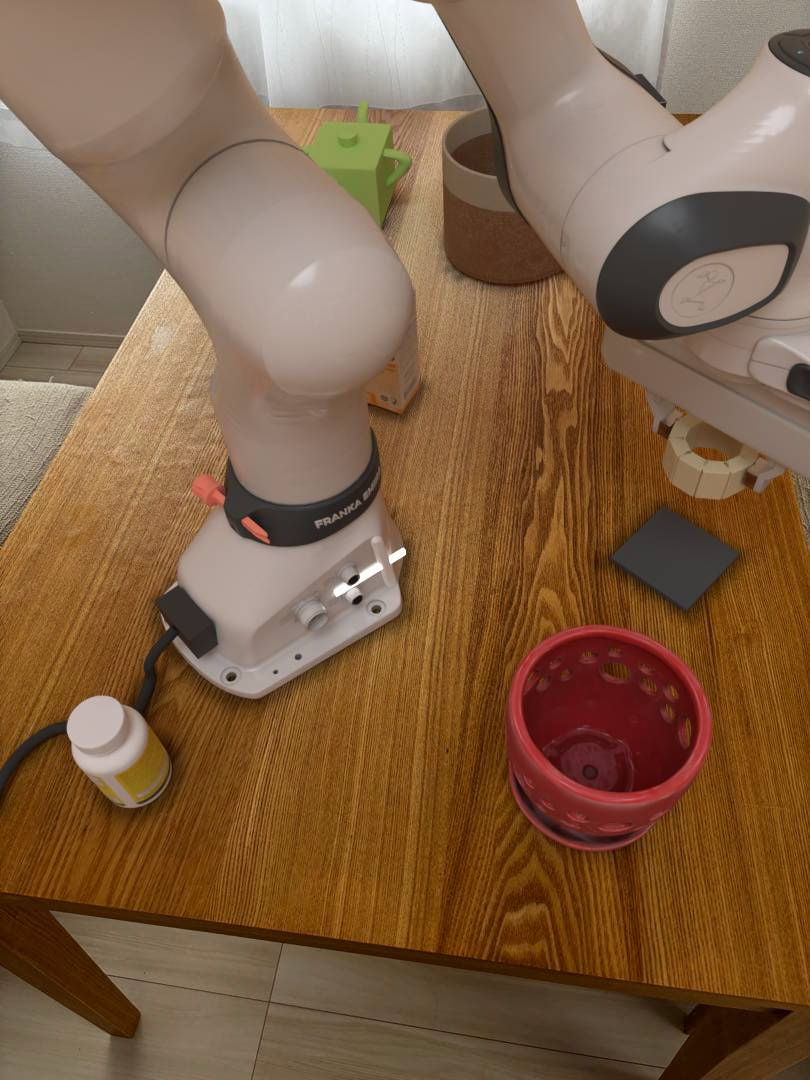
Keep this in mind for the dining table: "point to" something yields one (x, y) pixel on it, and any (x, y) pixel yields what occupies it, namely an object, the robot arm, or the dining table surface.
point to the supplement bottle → (118, 751)
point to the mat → (674, 558)
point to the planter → (485, 211)
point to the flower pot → (602, 736)
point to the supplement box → (398, 374)
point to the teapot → (361, 160)
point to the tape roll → (698, 472)
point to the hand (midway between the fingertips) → (709, 457)
